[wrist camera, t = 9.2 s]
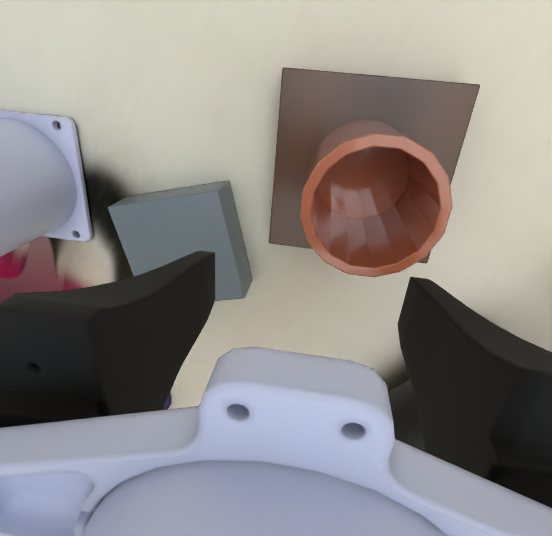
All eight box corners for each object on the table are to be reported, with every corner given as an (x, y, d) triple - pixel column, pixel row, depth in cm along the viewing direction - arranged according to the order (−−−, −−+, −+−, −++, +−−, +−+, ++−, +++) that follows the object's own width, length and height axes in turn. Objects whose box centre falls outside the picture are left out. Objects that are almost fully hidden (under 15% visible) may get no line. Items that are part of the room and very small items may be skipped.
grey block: (160, 289, 27) (145, 307, 25) (127, 195, 24) (106, 207, 22) (252, 280, 25) (245, 298, 23) (229, 180, 23) (218, 190, 20)
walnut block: (274, 228, 24) (268, 243, 21) (288, 69, 19) (282, 67, 17) (418, 246, 23) (427, 264, 21) (463, 84, 19) (480, 84, 16)
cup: (304, 215, 20) (293, 267, 14) (317, 114, 18) (309, 127, 12) (400, 227, 20) (428, 285, 14) (426, 124, 17) (472, 143, 12)
